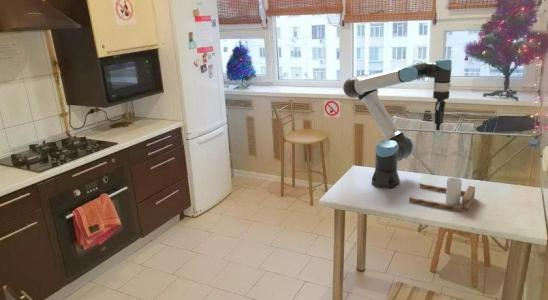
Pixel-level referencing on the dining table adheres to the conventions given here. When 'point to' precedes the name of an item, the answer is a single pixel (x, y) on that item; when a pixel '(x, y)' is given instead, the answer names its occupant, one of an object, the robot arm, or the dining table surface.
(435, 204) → the guide lane
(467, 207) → the end stop
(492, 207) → the dining table surface
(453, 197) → the mug
